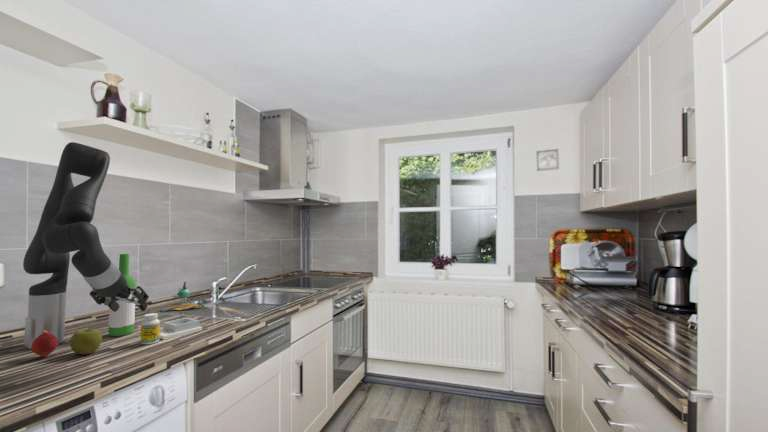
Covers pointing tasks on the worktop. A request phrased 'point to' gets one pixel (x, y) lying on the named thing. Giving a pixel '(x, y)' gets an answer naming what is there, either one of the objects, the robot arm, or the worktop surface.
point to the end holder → (179, 328)
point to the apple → (86, 341)
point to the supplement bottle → (150, 329)
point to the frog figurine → (184, 294)
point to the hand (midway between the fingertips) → (130, 308)
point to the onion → (44, 344)
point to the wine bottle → (123, 305)
